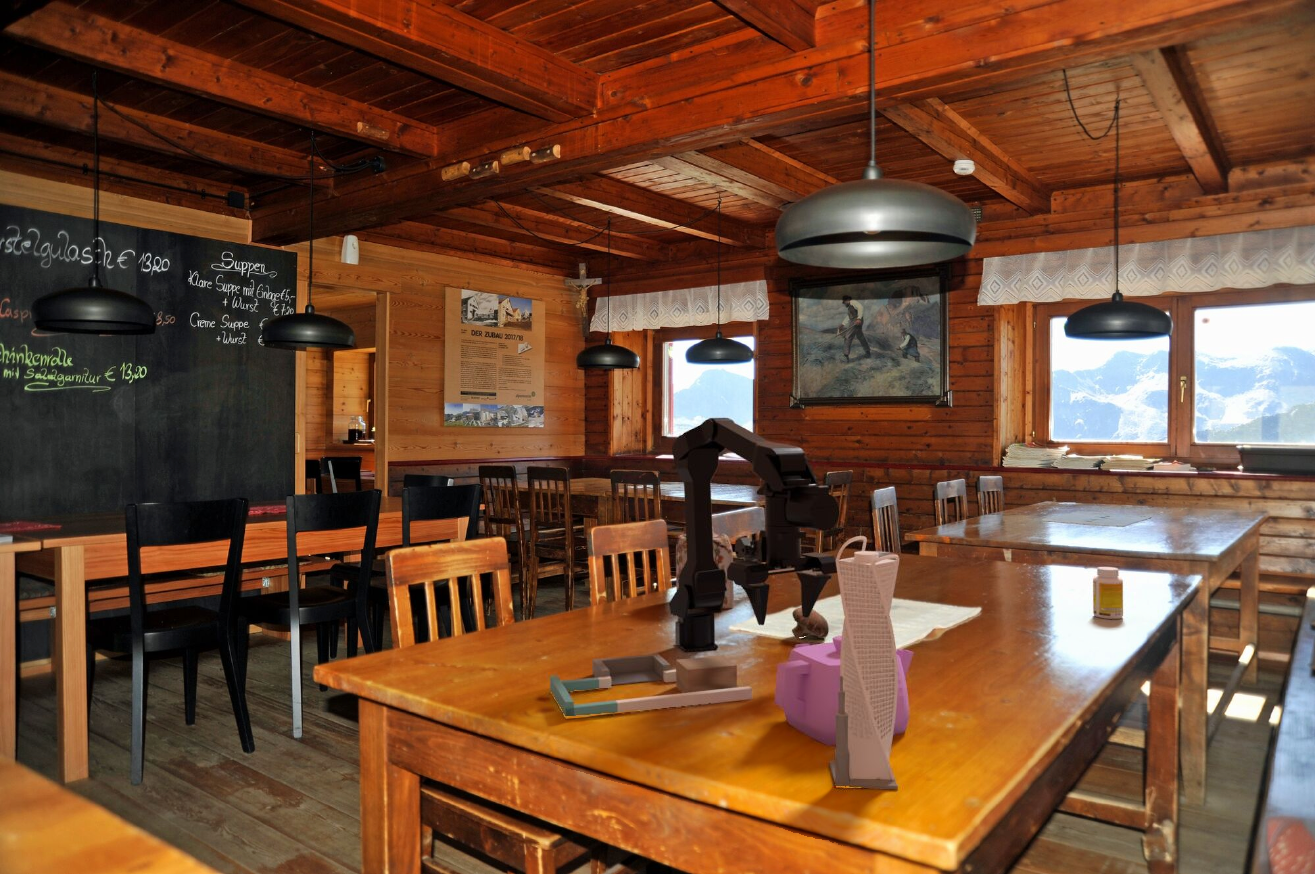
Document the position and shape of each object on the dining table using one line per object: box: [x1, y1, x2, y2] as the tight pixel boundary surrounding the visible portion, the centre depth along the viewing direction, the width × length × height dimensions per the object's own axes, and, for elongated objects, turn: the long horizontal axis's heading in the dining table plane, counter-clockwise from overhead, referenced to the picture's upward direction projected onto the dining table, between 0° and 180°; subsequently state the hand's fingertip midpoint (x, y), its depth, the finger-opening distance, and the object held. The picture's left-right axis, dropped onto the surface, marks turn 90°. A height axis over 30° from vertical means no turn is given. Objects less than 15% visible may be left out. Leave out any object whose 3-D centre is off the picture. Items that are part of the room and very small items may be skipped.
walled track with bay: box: [549, 653, 753, 716], centre depth 138 cm, size 29×21×2 cm
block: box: [675, 655, 738, 693], centre depth 137 cm, size 8×6×4 cm
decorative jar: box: [675, 526, 735, 610], centre depth 201 cm, size 12×12×18 cm
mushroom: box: [791, 606, 830, 639], centre depth 169 cm, size 8×8×6 cm
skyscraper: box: [828, 535, 900, 790], centre depth 104 cm, size 8×8×28 cm
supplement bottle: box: [1092, 566, 1124, 620], centre depth 183 cm, size 6×6×10 cm
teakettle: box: [774, 635, 914, 747], centre depth 120 cm, size 17×17×12 cm
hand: (783, 620), depth 141 cm, fingers open, 9 cm apart
